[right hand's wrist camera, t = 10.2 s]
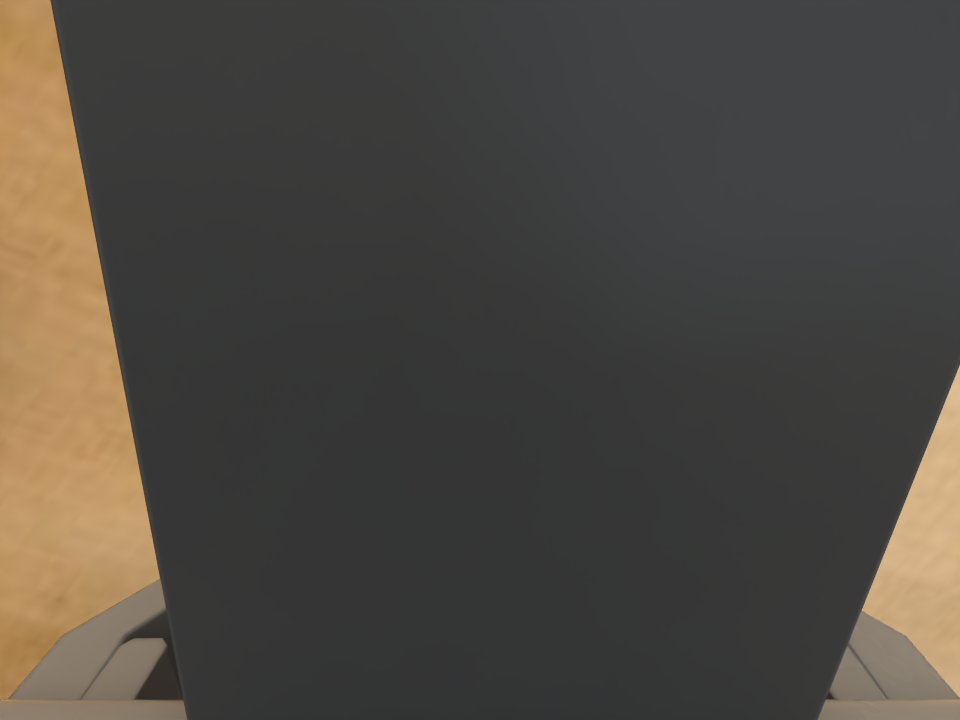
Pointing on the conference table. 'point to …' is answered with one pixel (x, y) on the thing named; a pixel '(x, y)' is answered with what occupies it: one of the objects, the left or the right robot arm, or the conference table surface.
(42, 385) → the conference table surface
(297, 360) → the bar
